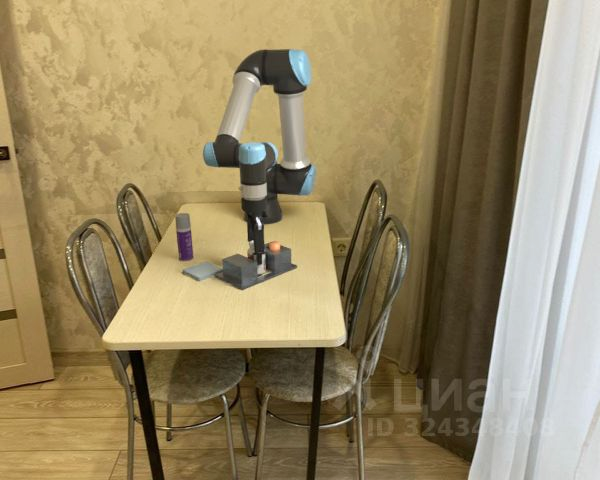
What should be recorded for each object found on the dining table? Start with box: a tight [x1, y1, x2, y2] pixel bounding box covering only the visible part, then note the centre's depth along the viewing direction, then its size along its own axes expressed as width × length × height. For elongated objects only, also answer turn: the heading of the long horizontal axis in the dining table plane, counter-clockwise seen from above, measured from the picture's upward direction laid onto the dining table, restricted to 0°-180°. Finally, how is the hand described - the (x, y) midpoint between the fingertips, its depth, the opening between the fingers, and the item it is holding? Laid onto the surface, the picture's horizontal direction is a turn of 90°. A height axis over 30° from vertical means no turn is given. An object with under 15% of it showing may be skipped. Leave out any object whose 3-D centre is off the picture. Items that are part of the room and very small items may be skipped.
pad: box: [182, 260, 223, 282], centre depth 168 cm, size 9×9×1 cm
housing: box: [214, 242, 298, 291], centre depth 166 cm, size 22×13×6 cm, turn 135°
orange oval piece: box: [268, 240, 281, 251], centre depth 171 cm, size 3×3×5 cm
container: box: [174, 212, 194, 262], centre depth 175 cm, size 5×5×15 cm
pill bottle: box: [246, 241, 267, 276], centre depth 166 cm, size 5×5×10 cm
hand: (256, 269), depth 167 cm, fingers closed on pill bottle, 5 cm apart
